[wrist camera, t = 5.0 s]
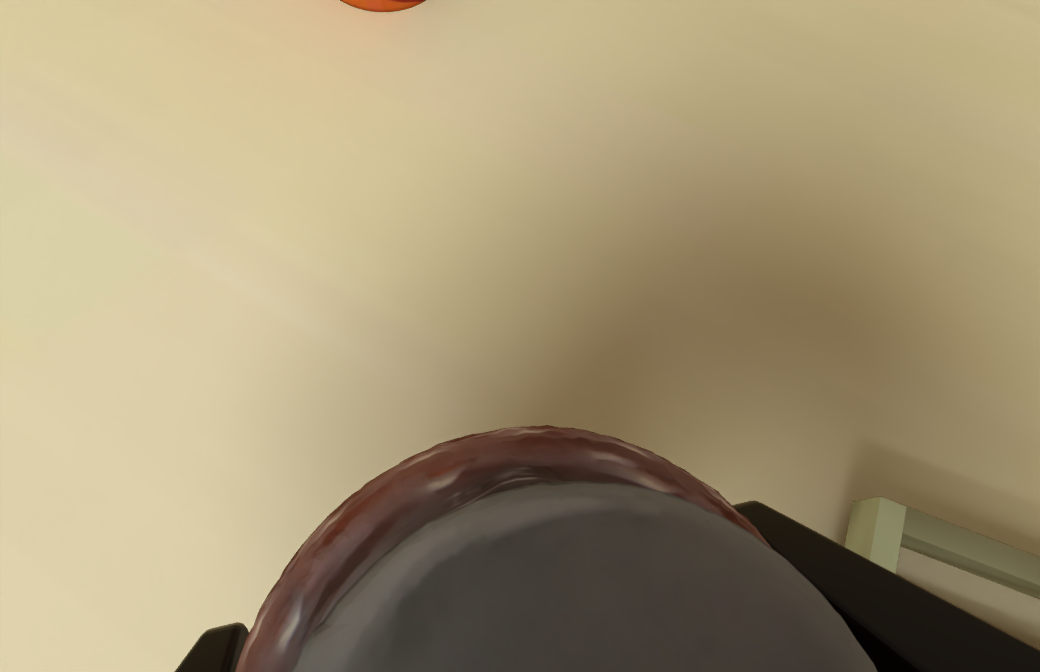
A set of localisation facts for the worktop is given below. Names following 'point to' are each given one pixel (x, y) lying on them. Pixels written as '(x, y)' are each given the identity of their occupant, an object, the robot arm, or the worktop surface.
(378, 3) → the paper cup
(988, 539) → the wooden tray
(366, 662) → the supplement bottle
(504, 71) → the worktop surface
